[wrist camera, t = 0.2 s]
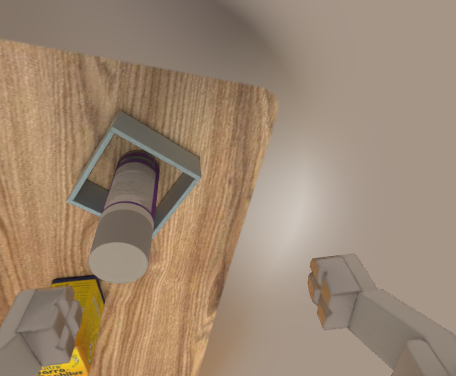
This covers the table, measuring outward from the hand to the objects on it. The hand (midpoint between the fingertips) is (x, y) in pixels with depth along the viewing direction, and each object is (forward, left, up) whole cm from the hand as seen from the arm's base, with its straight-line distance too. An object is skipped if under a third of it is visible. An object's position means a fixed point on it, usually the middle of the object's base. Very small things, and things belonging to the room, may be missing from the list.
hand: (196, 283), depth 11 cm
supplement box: (+33, +4, -26) cm, 43 cm away
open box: (+11, +1, -26) cm, 29 cm away
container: (+11, +1, -26) cm, 29 cm away
